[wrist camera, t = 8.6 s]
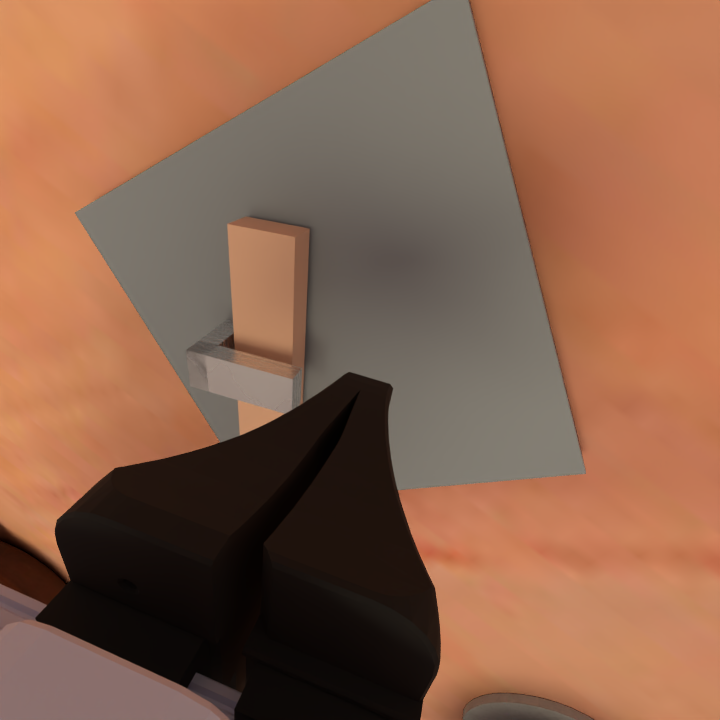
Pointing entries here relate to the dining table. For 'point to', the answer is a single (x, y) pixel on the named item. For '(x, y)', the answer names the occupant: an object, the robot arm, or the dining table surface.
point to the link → (268, 298)
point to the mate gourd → (518, 708)
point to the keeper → (242, 372)
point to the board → (370, 251)
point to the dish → (27, 575)
